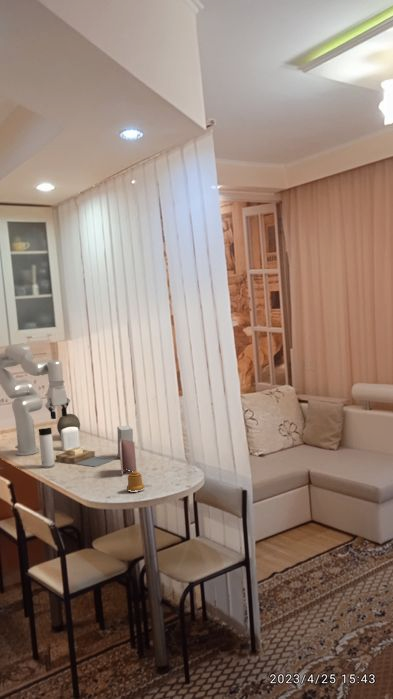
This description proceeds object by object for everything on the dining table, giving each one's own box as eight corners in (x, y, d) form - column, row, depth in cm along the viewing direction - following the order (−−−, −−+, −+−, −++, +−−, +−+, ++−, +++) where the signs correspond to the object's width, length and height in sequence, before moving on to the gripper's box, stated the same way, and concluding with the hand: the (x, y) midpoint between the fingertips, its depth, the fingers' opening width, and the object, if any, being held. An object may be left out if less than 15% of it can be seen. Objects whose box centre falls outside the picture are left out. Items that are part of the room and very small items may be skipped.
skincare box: (117, 456, 304) (115, 426, 303) (131, 454, 306) (128, 424, 305) (121, 460, 296) (119, 429, 295) (135, 458, 299) (132, 427, 297)
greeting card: (121, 469, 279) (119, 438, 278) (137, 468, 279) (135, 437, 278) (120, 476, 268) (117, 444, 266) (136, 475, 268) (134, 443, 267)
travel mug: (42, 469, 290) (38, 429, 288) (42, 465, 296) (38, 427, 295) (55, 467, 292) (51, 427, 290) (54, 464, 298) (51, 425, 296)
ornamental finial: (132, 487, 251) (147, 488, 248) (123, 492, 244) (139, 493, 241) (131, 468, 250) (146, 469, 247) (122, 474, 243) (137, 475, 240)
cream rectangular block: (64, 453, 305) (64, 449, 305) (72, 451, 310) (72, 447, 310) (75, 455, 301) (74, 451, 300) (83, 452, 305) (82, 448, 305)
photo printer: (78, 446, 333) (76, 425, 332) (81, 447, 330) (79, 426, 329) (61, 449, 328) (59, 428, 327) (63, 451, 324) (61, 429, 323)
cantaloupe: (53, 441, 352) (51, 416, 351) (67, 435, 365) (65, 411, 364) (72, 441, 346) (70, 416, 345) (86, 436, 359) (84, 412, 358)
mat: (75, 464, 295) (75, 463, 295) (95, 457, 306) (95, 456, 306) (95, 467, 287) (95, 466, 287) (114, 459, 298) (114, 459, 298)
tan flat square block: (56, 461, 303) (55, 455, 303) (76, 454, 315) (75, 449, 314) (74, 464, 295) (74, 458, 295) (94, 457, 306) (94, 451, 306)
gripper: (63, 381, 317) (66, 413, 318) (38, 386, 303) (41, 420, 304) (73, 381, 312) (76, 414, 314) (47, 386, 298) (50, 421, 300)
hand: (59, 417), depth 309 cm, fingers open, 6 cm apart
